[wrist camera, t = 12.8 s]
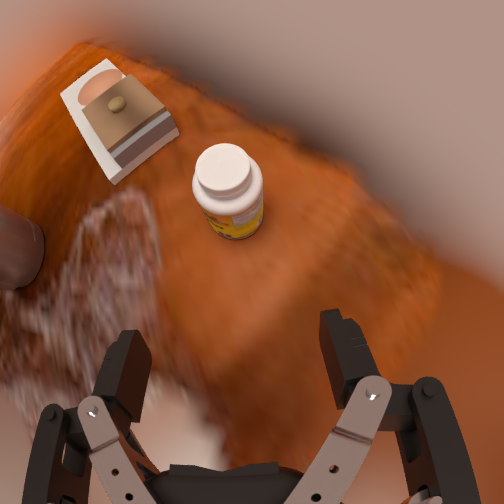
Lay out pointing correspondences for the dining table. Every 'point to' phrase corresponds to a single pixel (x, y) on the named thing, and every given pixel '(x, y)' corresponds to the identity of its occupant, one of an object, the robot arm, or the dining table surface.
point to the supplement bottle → (229, 190)
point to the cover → (122, 112)
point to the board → (131, 149)
